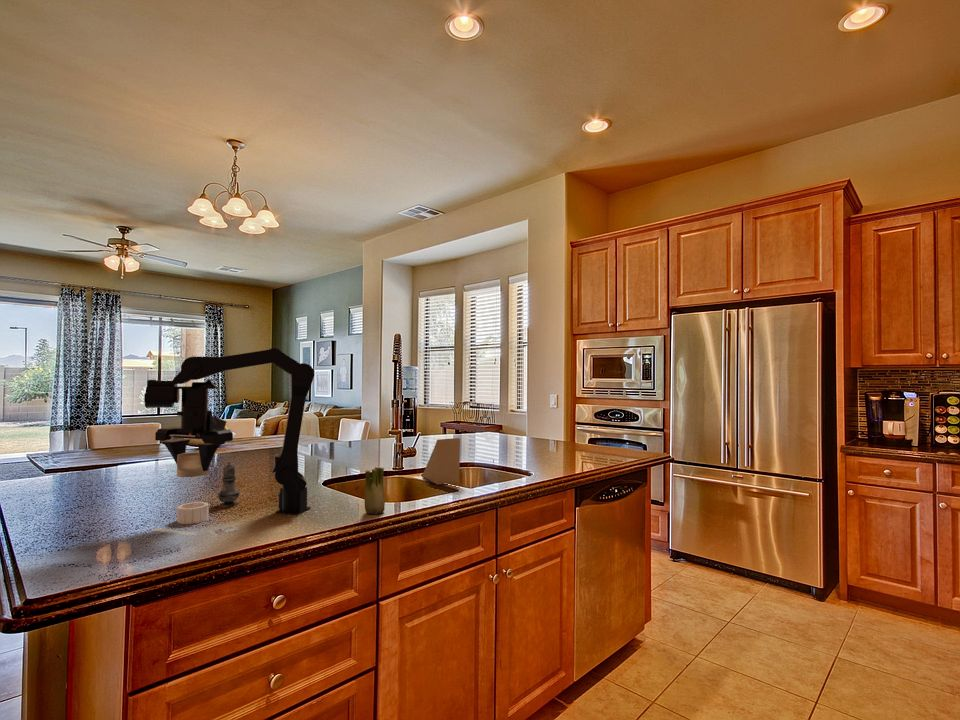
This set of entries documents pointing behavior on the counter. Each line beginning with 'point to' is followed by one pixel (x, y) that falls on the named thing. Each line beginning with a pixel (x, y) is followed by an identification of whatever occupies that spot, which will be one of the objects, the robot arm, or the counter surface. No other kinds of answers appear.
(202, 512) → the bowl
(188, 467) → the beige rounded cylinder
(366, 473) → the fennel bulb
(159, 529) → the mat
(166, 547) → the counter surface
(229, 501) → the salt shaker
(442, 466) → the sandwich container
